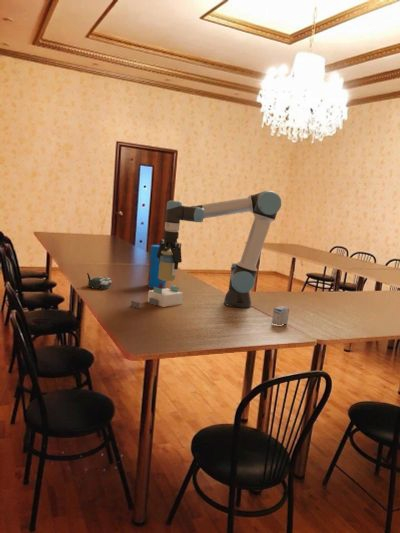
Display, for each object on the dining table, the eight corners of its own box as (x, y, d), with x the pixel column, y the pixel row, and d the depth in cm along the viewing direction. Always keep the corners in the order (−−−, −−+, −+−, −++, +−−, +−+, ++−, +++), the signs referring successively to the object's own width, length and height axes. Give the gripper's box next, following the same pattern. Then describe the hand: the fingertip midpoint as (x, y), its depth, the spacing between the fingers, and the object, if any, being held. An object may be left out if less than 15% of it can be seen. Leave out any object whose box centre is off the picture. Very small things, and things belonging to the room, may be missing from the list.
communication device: (116, 283, 281) (117, 269, 280) (106, 291, 258) (107, 275, 257) (97, 281, 282) (98, 267, 281) (85, 288, 258) (86, 273, 257)
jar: (159, 281, 236) (162, 252, 234) (156, 277, 245) (159, 249, 243) (176, 282, 239) (179, 253, 236) (173, 278, 248) (176, 251, 245)
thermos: (145, 284, 285) (148, 244, 281) (161, 284, 289) (165, 245, 285) (151, 288, 275) (154, 247, 271) (167, 288, 279) (171, 247, 275)
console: (182, 303, 245) (183, 288, 244) (142, 310, 224) (143, 293, 223) (166, 298, 253) (168, 283, 252) (126, 304, 232) (127, 288, 231)
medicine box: (279, 322, 228) (281, 305, 227) (287, 324, 226) (289, 307, 224) (271, 325, 222) (273, 307, 221) (279, 327, 220) (281, 310, 218)
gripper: (152, 228, 242) (148, 269, 246) (181, 233, 228) (176, 278, 232) (162, 228, 248) (158, 269, 251) (191, 233, 234) (187, 277, 237)
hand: (167, 273), depth 242 cm, fingers closed on jar, 9 cm apart
